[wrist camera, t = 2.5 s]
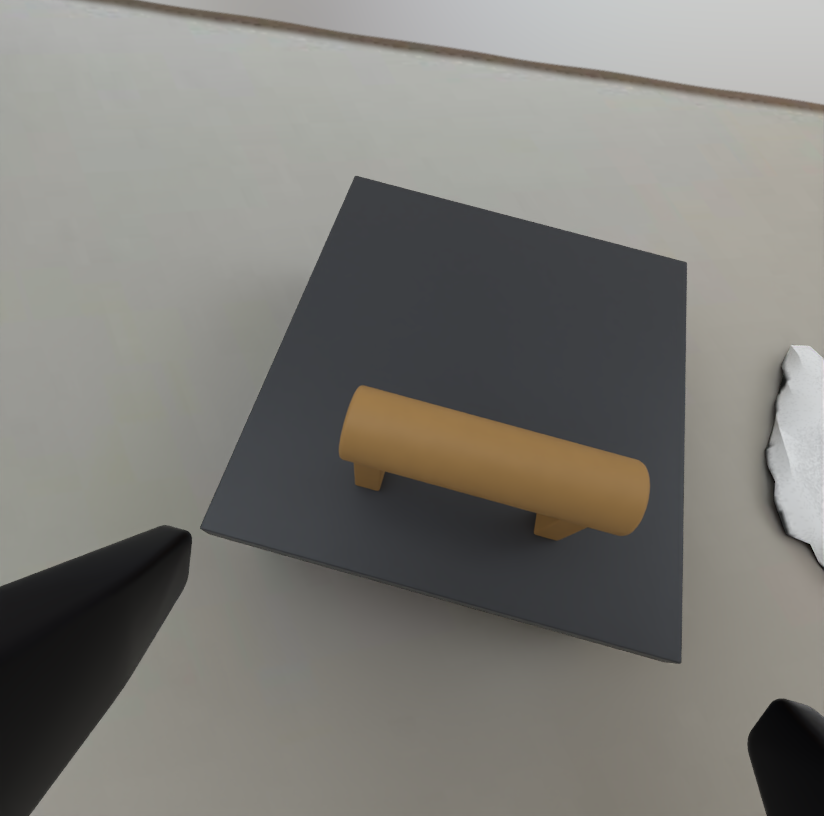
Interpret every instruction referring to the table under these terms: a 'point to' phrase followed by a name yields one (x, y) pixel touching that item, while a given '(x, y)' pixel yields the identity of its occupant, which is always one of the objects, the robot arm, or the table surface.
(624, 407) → the lid
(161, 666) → the table surface
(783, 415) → the cloth
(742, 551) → the table surface
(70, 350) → the table surface
